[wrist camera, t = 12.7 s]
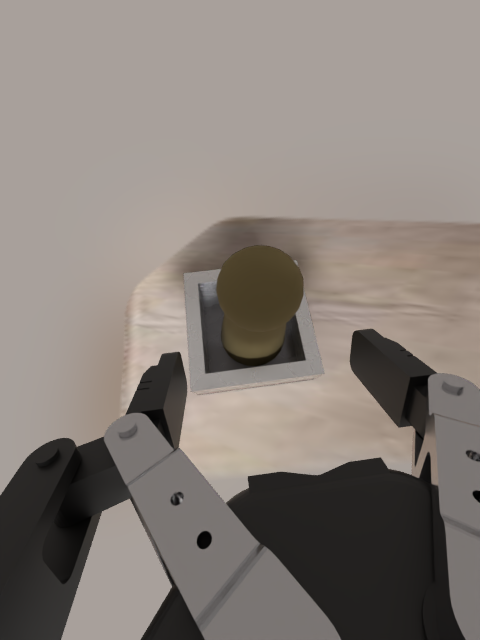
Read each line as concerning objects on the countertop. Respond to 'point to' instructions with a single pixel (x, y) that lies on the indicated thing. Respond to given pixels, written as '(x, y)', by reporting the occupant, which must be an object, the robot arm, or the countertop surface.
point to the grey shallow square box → (224, 372)
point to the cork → (257, 302)
